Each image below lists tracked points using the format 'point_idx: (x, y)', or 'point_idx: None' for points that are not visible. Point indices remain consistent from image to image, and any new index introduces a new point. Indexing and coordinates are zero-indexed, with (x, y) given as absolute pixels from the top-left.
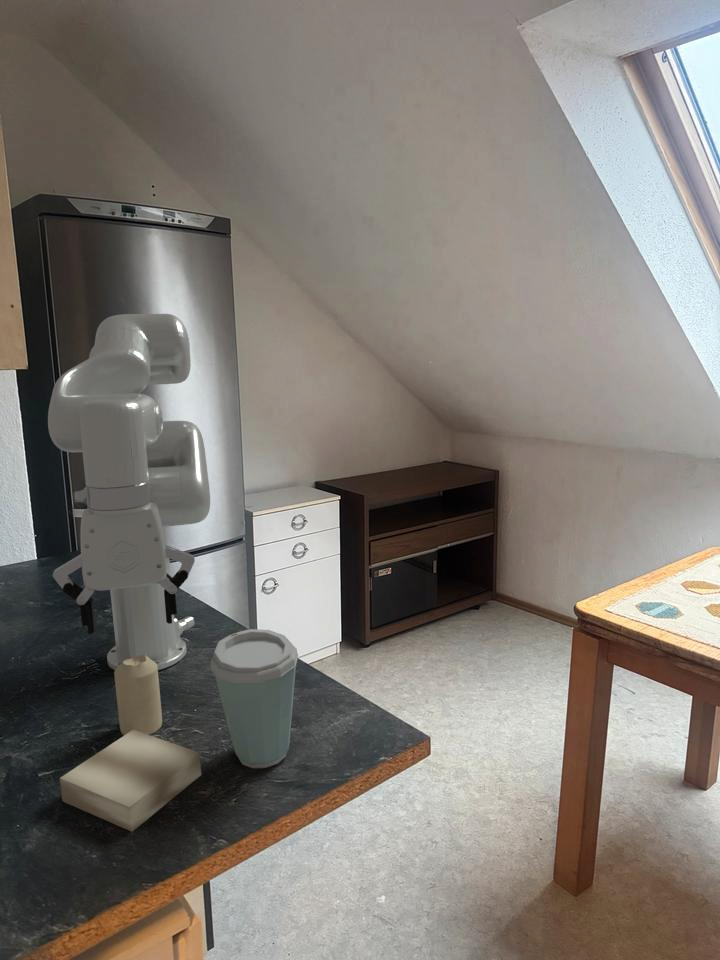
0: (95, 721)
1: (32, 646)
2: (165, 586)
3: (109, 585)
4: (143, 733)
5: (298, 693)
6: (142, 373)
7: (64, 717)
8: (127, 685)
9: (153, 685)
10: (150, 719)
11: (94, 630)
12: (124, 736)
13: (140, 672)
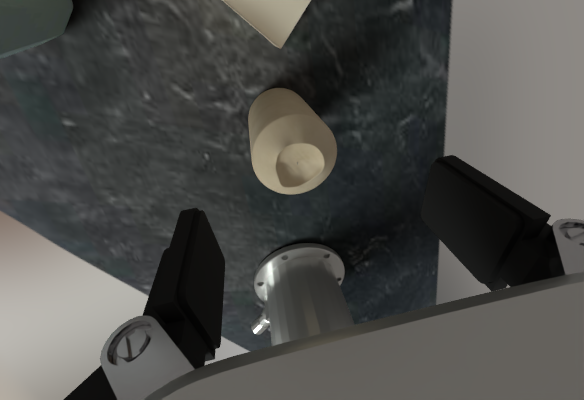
0: (344, 142)
1: (416, 290)
2: (164, 358)
3: (569, 309)
4: (258, 28)
5: (42, 186)
6: None
7: (382, 157)
8: (304, 111)
9: (255, 128)
10: (260, 100)
11: (431, 173)
12: (292, 23)
13: (280, 128)
